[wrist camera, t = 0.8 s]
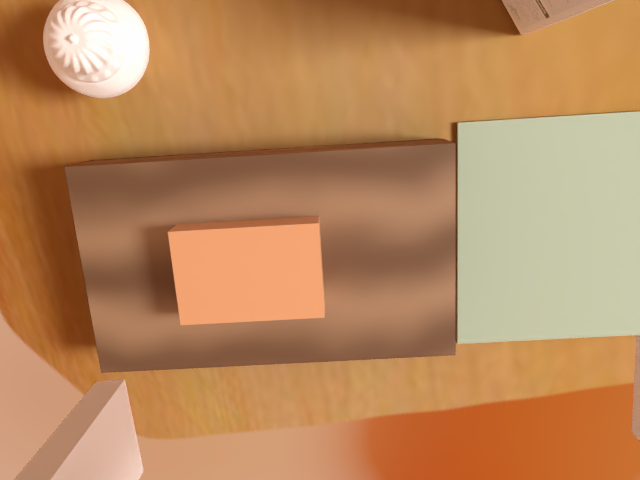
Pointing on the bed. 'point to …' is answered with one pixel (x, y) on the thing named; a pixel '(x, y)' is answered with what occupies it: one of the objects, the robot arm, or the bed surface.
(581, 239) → the mat
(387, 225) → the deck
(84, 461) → the robot arm
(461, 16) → the bed surface
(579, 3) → the syrup box
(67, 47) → the white steamed bun
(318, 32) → the bed surface
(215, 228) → the orange rectangular block
